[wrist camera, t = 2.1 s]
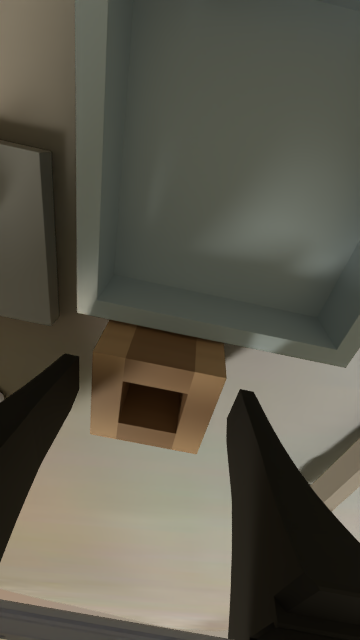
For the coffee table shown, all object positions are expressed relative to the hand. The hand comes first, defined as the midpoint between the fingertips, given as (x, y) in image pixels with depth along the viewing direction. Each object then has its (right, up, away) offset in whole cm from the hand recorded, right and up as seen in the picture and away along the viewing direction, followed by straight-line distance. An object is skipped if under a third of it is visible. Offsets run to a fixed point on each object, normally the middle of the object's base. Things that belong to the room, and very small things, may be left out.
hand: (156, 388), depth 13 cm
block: (0, +2, +3) cm, 4 cm away
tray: (+4, +9, -1) cm, 9 cm away
